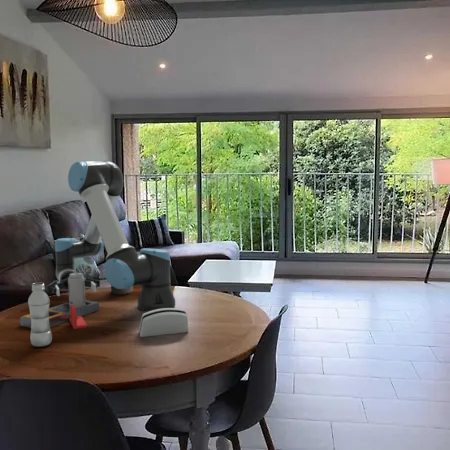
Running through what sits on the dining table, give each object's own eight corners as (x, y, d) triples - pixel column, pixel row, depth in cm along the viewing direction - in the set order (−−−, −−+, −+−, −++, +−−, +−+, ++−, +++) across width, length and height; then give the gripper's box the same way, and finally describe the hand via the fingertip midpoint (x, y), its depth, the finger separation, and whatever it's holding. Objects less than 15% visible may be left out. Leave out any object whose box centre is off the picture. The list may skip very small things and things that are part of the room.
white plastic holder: (185, 327, 182) (187, 303, 178) (188, 335, 178) (190, 311, 174) (137, 332, 177) (138, 308, 173) (140, 341, 173) (140, 316, 169)
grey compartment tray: (99, 309, 204) (99, 301, 203) (41, 330, 180) (41, 321, 179) (79, 306, 209) (78, 298, 209) (20, 325, 185) (20, 316, 185)
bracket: (87, 328, 183) (86, 306, 182) (73, 330, 182) (72, 308, 180) (81, 318, 194) (80, 298, 193) (68, 320, 192) (67, 299, 191)
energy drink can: (69, 310, 203) (67, 272, 201) (85, 309, 205) (83, 271, 203) (69, 314, 198) (68, 276, 196) (86, 313, 200) (84, 274, 198)
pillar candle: (107, 294, 228) (106, 260, 226) (115, 288, 237) (115, 256, 235) (128, 295, 226) (128, 261, 224) (136, 289, 236) (135, 256, 234)
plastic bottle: (40, 350, 161) (36, 287, 158) (26, 346, 165) (22, 284, 162) (56, 344, 166) (53, 283, 164) (42, 340, 170) (39, 280, 167)
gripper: (99, 284, 223) (110, 296, 204) (37, 291, 213) (43, 304, 194) (98, 267, 222) (109, 277, 203) (36, 273, 212) (42, 284, 193)
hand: (77, 290), depth 198 cm, fingers open, 13 cm apart
